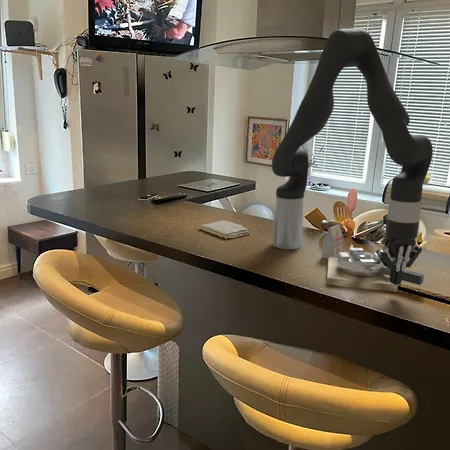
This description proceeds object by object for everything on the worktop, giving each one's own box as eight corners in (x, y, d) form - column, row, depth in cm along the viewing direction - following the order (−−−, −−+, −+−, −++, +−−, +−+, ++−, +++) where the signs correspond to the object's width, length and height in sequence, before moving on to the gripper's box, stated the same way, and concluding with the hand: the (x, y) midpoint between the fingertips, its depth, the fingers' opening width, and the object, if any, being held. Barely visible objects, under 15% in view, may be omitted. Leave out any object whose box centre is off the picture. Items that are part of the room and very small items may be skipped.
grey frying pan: (328, 268, 129) (329, 254, 128) (351, 257, 138) (352, 244, 137) (410, 292, 114) (412, 276, 113) (430, 278, 123) (432, 263, 122)
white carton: (321, 257, 146) (323, 227, 143) (331, 252, 151) (333, 223, 148) (332, 260, 143) (334, 229, 141) (342, 255, 148) (344, 225, 146)
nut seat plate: (326, 284, 124) (327, 276, 123) (328, 263, 141) (328, 255, 140) (396, 291, 120) (397, 283, 119) (389, 268, 137) (390, 261, 136)
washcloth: (227, 241, 162) (227, 233, 162) (197, 230, 176) (197, 222, 175) (251, 235, 170) (252, 227, 169) (221, 225, 183) (221, 218, 182)
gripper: (392, 223, 106) (384, 292, 111) (435, 219, 111) (426, 285, 116) (371, 216, 113) (364, 281, 118) (413, 212, 118) (405, 275, 122)
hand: (395, 283), depth 117 cm, fingers closed
